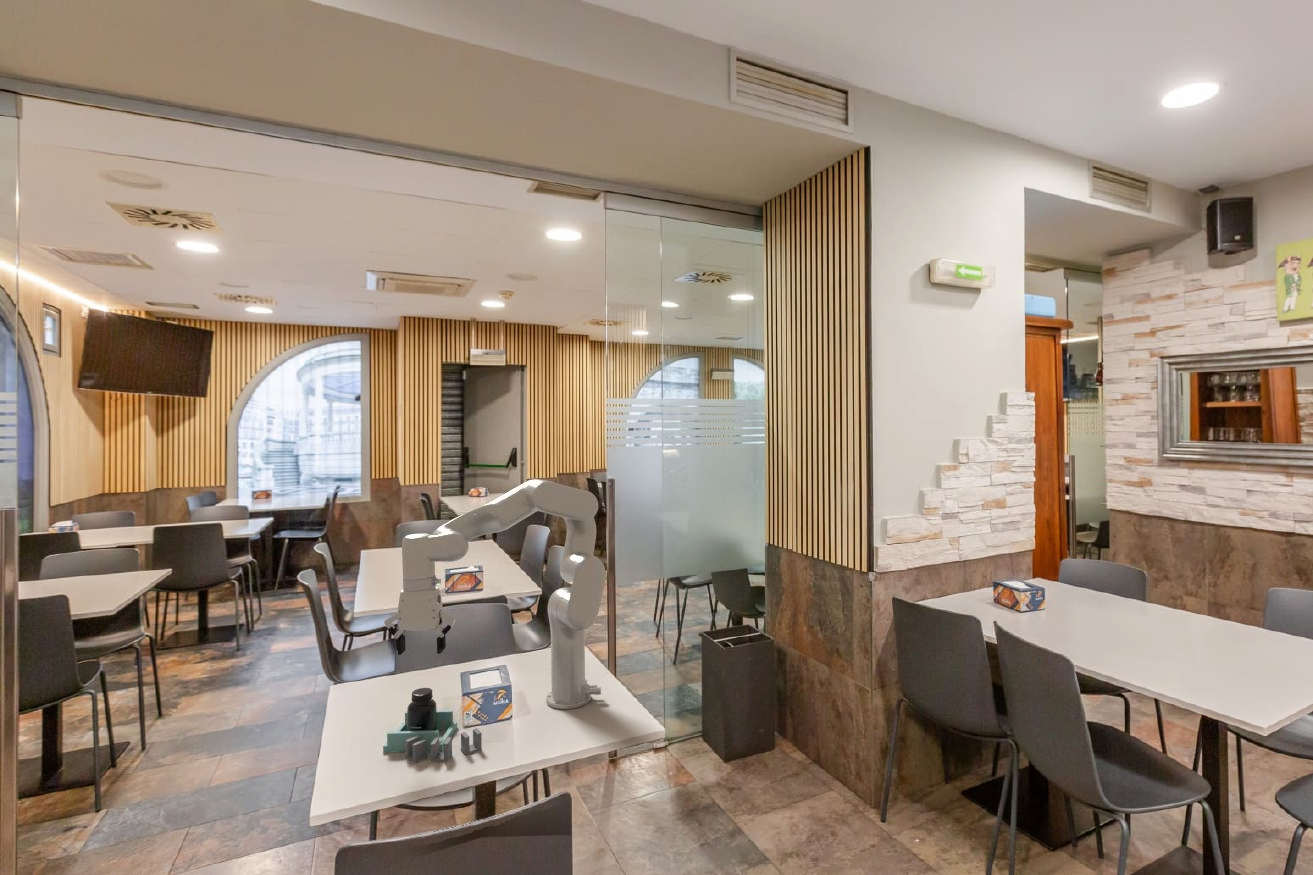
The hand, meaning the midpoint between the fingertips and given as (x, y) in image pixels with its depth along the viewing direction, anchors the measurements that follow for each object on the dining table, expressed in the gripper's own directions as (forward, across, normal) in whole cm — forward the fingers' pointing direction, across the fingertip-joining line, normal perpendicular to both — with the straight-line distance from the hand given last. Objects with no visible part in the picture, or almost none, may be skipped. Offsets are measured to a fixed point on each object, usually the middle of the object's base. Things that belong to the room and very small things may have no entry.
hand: (421, 652), depth 154 cm
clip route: (+22, -8, +7) cm, 24 cm away
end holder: (+22, 0, 0) cm, 22 cm away
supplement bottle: (+22, 0, 0) cm, 22 cm away
